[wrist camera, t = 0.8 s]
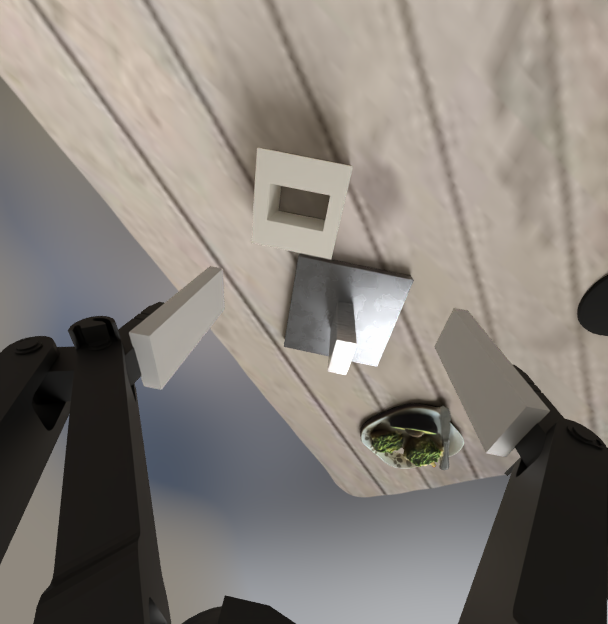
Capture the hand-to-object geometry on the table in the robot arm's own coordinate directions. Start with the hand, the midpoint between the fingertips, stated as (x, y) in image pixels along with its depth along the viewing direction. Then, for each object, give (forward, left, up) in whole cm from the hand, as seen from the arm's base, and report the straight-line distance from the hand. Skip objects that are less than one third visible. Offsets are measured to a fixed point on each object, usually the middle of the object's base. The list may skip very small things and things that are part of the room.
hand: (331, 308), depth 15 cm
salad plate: (+35, +22, -21) cm, 46 cm away
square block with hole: (-2, -5, -20) cm, 21 cm away
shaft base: (+12, +3, -20) cm, 24 cm away
